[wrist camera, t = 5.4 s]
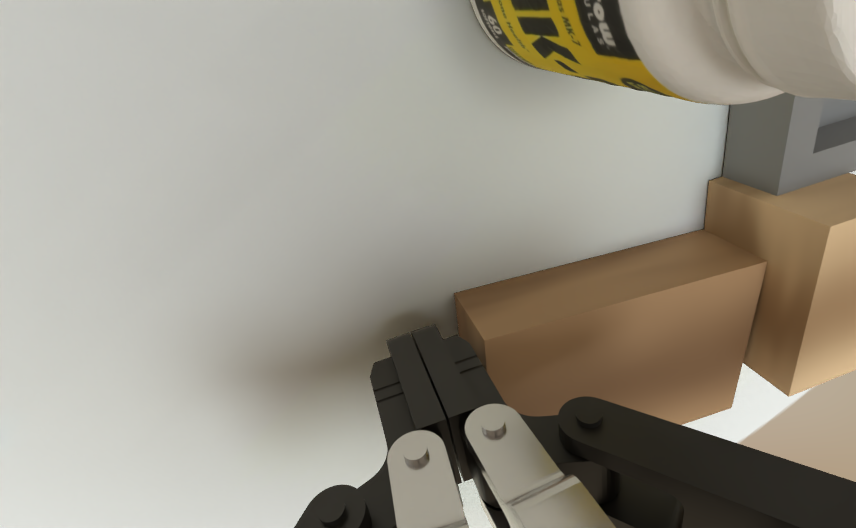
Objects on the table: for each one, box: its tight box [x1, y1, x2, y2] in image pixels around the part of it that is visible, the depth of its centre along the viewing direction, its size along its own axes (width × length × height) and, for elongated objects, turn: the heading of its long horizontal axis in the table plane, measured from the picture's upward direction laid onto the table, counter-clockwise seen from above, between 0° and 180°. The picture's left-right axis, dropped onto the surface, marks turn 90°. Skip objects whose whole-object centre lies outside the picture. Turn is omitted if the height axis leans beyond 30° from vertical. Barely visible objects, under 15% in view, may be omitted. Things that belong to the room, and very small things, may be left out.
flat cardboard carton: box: [454, 229, 768, 425], centre depth 16 cm, size 6×9×3 cm, turn 97°
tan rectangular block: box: [704, 173, 856, 397], centre depth 16 cm, size 6×3×4 cm, turn 11°
